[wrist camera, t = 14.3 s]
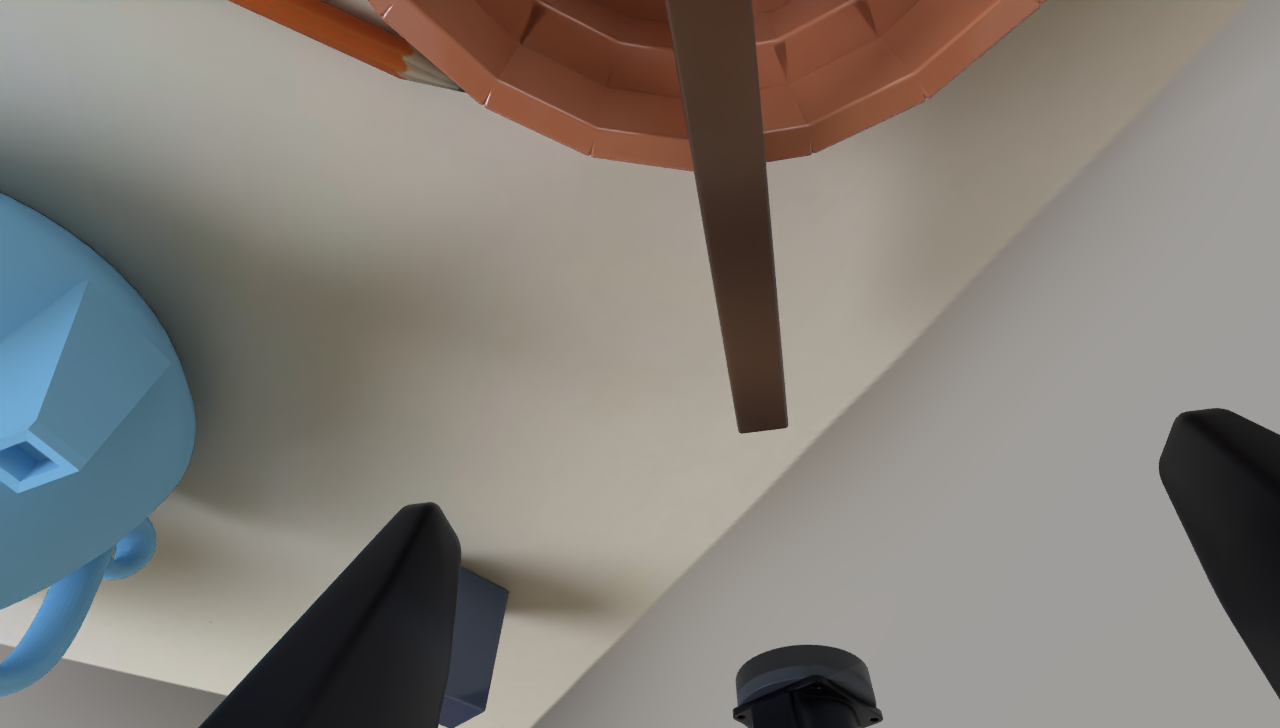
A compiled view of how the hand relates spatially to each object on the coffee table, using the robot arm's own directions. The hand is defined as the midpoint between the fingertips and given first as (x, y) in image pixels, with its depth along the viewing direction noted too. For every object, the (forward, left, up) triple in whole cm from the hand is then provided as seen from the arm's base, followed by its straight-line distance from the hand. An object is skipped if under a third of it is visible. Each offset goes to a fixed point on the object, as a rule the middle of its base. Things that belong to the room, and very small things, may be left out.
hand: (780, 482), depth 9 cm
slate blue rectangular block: (-7, +22, -12) cm, 26 cm away
